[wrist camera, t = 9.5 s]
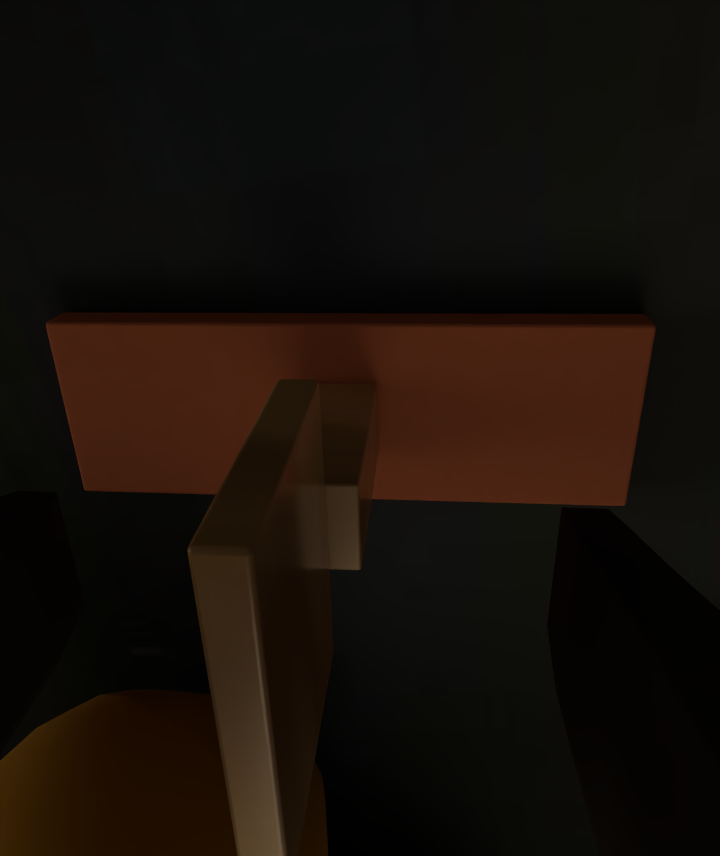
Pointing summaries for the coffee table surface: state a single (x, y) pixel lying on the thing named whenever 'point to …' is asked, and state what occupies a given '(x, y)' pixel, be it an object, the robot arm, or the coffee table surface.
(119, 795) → the apple
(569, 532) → the robot arm
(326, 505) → the brown slab
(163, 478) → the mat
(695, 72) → the coffee table surface
